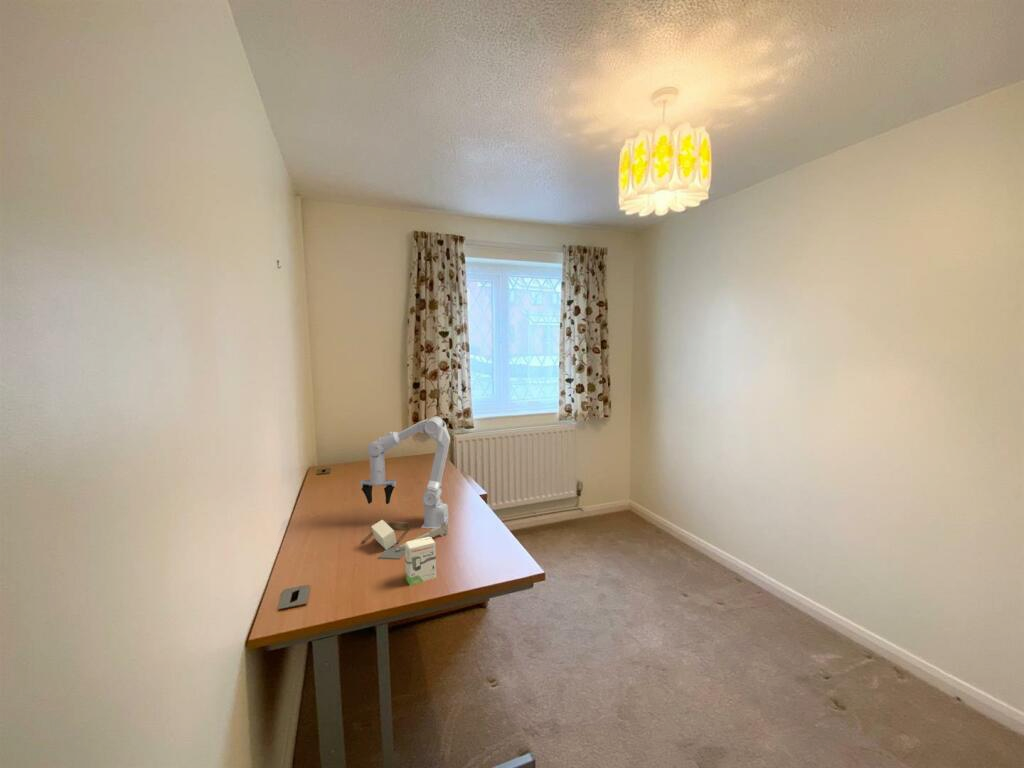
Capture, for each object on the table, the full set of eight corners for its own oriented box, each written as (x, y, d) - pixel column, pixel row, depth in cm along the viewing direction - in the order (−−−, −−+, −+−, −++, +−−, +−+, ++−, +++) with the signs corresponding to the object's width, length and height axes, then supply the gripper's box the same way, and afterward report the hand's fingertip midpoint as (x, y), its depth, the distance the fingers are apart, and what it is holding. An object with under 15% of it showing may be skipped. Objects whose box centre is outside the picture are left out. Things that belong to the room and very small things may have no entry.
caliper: (446, 535, 156) (447, 520, 155) (447, 536, 155) (448, 521, 154) (395, 550, 143) (396, 534, 142) (396, 552, 142) (398, 535, 141)
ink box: (409, 586, 122) (408, 548, 121) (405, 578, 126) (404, 542, 125) (436, 578, 126) (435, 541, 125) (432, 571, 130) (430, 535, 129)
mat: (410, 548, 147) (409, 546, 146) (400, 560, 138) (400, 558, 138) (388, 547, 147) (388, 545, 147) (378, 559, 139) (377, 557, 138)
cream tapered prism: (396, 542, 147) (385, 531, 152) (393, 530, 144) (382, 519, 149) (386, 550, 144) (374, 538, 149) (382, 538, 141) (371, 526, 146)
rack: (409, 532, 160) (409, 522, 160) (397, 546, 148) (397, 535, 148) (376, 531, 162) (376, 521, 162) (362, 544, 150) (361, 534, 150)
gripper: (398, 467, 167) (399, 500, 168) (365, 467, 168) (366, 499, 169) (391, 472, 160) (392, 506, 161) (357, 472, 161) (358, 505, 162)
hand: (378, 503), depth 164 cm, fingers open, 7 cm apart
